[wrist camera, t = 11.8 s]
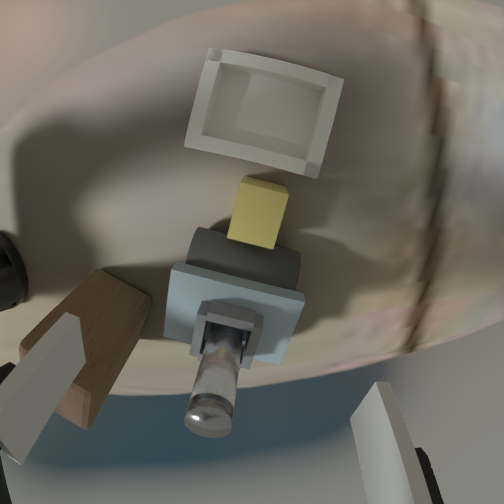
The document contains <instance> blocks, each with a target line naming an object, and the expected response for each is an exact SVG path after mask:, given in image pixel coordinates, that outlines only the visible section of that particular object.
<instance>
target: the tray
mask: <svg viewBox="0 0 504 504" xmlns="http://www.w3.org/2000/svg"><path fill="white" fill-rule="evenodd" d="M343 83H344V79H342V78H339V77H336V76H333V75H330V74H327V73H324V72H321V71H317V70H314V69H311V68H307V67H304V66H300V65H297V64H293V63H289V62H285V61H281V60H277V59H273V58H268V57H264V56H259V55H254V54H249V53H244V52H238V51H232V50H226V49H219V48H212V47H210V48H209V51H208V54H207V57H206V61H205V64H204V68H203V71H202V74H201V78H200V82H199V85H198V89H197V93H196V97H195V100H194V104H193V108H192V112H191V116H190V120H189V125H188V129H187V133H186V138H185V142H184V146H183V147H187V148H192V149H197V150H202V151H207V152H212V153H216V154H221V155H226V156H230V157H234V158H239V159H243V160H247V161H251V162H255V163H259V164H263V165H267V166H271V167H275V168H278V169H282V170H286V171H289V172H293V173H297V174H300V175H304V176H307V177H310V178H314V179H318V175H319V172H320V169H321V165H322V162H323V158H324V154H325V151H326V147H327V144H328V140H329V136H330V133H331V129H332V125H333V122H334V118H335V114H336V110H337V106H338V103H339V99H340V95H341V91H342V87H343Z"/></svg>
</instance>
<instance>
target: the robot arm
mask: <svg viewBox="0 0 504 504" xmlns="http://www.w3.org/2000/svg"><path fill="white" fill-rule="evenodd" d="M27 291H28V281H27V275H26V271H25V268H24V265H23V262H22V260H21V257H20V255H19V253H18V251H17V250H16V248H15V247H14V245H13V244H12V243H11V241H10V240H9V239H8V238H7V237H6V236H4V235H3V234H1V233H0V312H1V311H4V310H8V309H11V308H14V307H16V306H18V305H19V304H20V303H21V302H22V301H24V299H25V298H26V296H27ZM85 363H86V359H85V353H84V347H83V341H82V334H81V327H80V319H79V317H77V316H75V315H72V314H69V313H67V312H65V313H64V314H63V315H62V316H61V317H60V318H59V319H58V320H57V322H56V323H55V324H54V325H53V326H52V327H51V328H50V329H49V330H48V331H47V332H46V333H45V334H44V335H43V336H42V337H41V339H40V340H39V341H38V342H37V343H36V344H35V345H34V346H33V347H32V348H31V350H30V351H29V352H28V353H27V354H26V355H25V356H24V357H23V359H22V360H21V361H20V362H19V363H18V364H17V365H14V364H13V363H11V362H9V363H7V364H5V365H3V366H2V367H0V450H1V449H2V450H3V451H4V452H5V454H7V456H9V457H10V458H11V459H13V460H14V461H16V462H17V463H19V464H20V465H22V464H23V462H24V460H25V458H26V457H27V455H28V453H29V451H30V450H31V448H32V446H33V444H34V443H35V441H36V439H37V438H38V436H39V434H40V432H41V430H42V429H43V427H44V426H45V424H46V422H47V421H48V419H49V418H50V416H51V414H52V413H53V411H54V410H55V408H56V407H57V405H58V403H59V402H60V400H61V399H62V397H63V396H64V394H65V393H66V391H67V390H68V388H69V387H70V385H71V383H72V382H73V380H74V379H75V378H76V376H77V375H78V373H79V372H80V370H81V369H82V367H83V366H84V364H85ZM350 421H351V425H352V429H353V434H354V438H355V442H356V447H357V452H358V456H359V462H360V466H361V471H362V476H363V481H364V487H365V492H366V497H367V502H368V504H444V502H443V500H442V497H441V494H440V491H439V488H438V485H437V482H436V478H435V475H433V474H434V473H433V470H432V468H431V464H430V461H429V458H428V456H427V455H426V453H425V452H424V451H423V450H422V448H414V445H413V442H412V440H411V437H410V434H409V431H408V429H407V426H406V423H405V421H404V418H403V416H402V413H401V411H400V408H399V405H398V403H397V400H396V398H395V395H394V393H393V390H392V388H391V386H390V383H389V382H375V383H374V385H373V386H372V388H371V389H370V391H369V392H368V394H367V395H366V396H365V398H364V399H363V401H362V402H361V404H360V405H359V407H358V408H357V409H356V411H355V412H354V413H353V415H352V416H351V418H350ZM0 504H12V502H11V499H10V495H9V492H8V488H7V484H6V480H5V476H4V471H3V466H2V461H1V456H0Z"/></svg>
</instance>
